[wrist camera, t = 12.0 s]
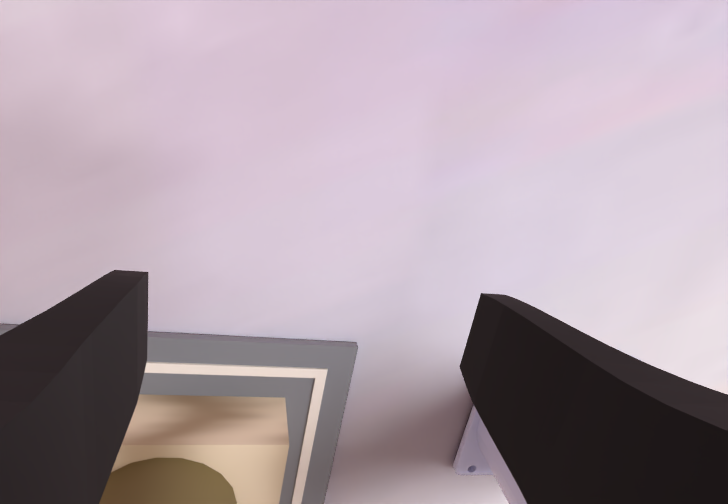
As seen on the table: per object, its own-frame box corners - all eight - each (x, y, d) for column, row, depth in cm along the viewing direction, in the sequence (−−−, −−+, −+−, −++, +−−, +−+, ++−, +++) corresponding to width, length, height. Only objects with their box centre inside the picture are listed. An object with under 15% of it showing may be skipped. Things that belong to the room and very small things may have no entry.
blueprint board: (356, 342, 24) (358, 348, 23) (309, 556, 29) (310, 564, 29) (-38, 322, 20) (-45, 329, 19) (-7, 575, 25) (-12, 585, 25)
